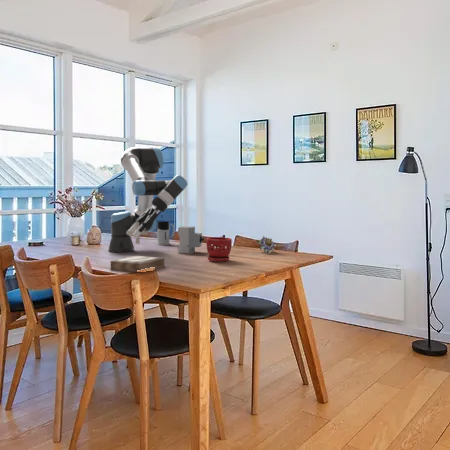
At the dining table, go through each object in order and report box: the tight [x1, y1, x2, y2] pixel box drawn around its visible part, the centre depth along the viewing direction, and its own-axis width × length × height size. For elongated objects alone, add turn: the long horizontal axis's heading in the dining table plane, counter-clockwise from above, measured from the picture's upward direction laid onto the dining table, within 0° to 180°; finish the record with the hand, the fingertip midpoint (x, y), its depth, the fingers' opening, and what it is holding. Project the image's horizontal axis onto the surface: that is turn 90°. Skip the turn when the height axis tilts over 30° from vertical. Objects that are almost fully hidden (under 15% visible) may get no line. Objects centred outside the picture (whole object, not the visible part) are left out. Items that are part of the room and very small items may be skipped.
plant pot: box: [206, 236, 233, 263], centre depth 246 cm, size 13×13×12 cm
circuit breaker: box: [177, 225, 205, 254], centre depth 276 cm, size 8×14×15 cm, turn 78°
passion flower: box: [256, 235, 277, 255], centre depth 275 cm, size 11×11×12 cm
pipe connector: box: [127, 222, 149, 245], centre depth 224 cm, size 10×10×10 cm
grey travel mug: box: [156, 221, 175, 246], centre depth 314 cm, size 9×14×15 cm, turn 54°
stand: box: [110, 255, 165, 272], centre depth 225 cm, size 18×18×4 cm
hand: (131, 235), depth 223 cm, fingers closed on pipe connector, 10 cm apart
